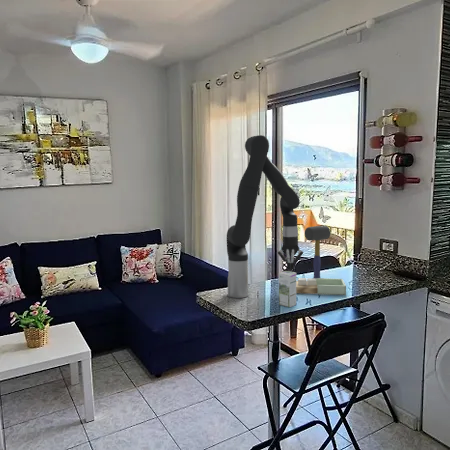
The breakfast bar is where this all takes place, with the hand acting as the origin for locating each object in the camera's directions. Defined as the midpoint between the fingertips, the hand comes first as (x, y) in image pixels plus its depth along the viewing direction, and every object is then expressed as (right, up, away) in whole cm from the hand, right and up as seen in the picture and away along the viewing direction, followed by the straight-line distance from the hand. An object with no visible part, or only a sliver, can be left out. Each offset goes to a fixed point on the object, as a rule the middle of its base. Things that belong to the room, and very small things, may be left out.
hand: (290, 269), depth 208 cm
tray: (+19, -10, -2) cm, 22 cm away
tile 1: (+6, -7, 0) cm, 9 cm away
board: (+7, -10, 0) cm, 12 cm away
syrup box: (-5, -13, -23) cm, 27 cm away
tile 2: (+10, -7, -1) cm, 12 cm away
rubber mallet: (+16, -8, +14) cm, 23 cm away
